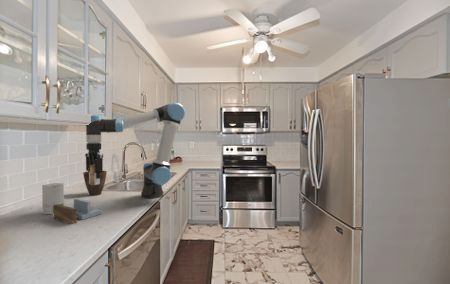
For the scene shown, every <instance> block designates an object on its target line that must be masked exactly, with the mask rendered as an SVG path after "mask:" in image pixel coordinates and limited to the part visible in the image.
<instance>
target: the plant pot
mask: <svg viewBox="0 0 450 284" xmlns="http://www.w3.org/2000/svg"><path fill="white" fill-rule="evenodd" d="M107 172H108V171H106V170H103V171H102V172H100V184H98V185H90V184H89V172H88V171H84V172H82V174H83V179H84V185H85V187H86V190H87V193H88V195H89V196H99V195H102V192H103V191H104V186H105V184H106V179H107Z"/></svg>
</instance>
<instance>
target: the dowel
mask: <svg viewBox="0 0 450 284" xmlns="http://www.w3.org/2000/svg"><path fill="white" fill-rule="evenodd" d="M94 172H95V166H94V165H90V185H94ZM97 185H98V184H97Z"/></svg>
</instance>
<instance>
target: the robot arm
mask: <svg viewBox="0 0 450 284" xmlns="http://www.w3.org/2000/svg"><path fill="white" fill-rule="evenodd" d="M91 115H92V116H91V123H90V124H89V125H86V124H85V128H86V130H85V131H86V132H85V134H86V137H85V138H86V151H87V150H88V152H87V153H85V155H84V156H85V169H86V170H85V172H89V184H90V165H94V166H95V172H94V185H97V184H100V172H102V171H104V170H103V168H104V167H103V166H104V165H103V160H104V159H103V158H104V154H103V153H101V151H100V150H102V133H116V134H117V133H123V132H124V130H126V129H129V128H130V129H131V128H134V127H138V126H142V125H145V124H151V123H155V122H156V123H162V122H163V126H162V127H163V128H162V132H161V137H160V140H159V144H158V145H159V146H158V148H157V153H156V158H155V160H154V161H152V162H148V163H147V162H146V163H144V164H143V167H142V169H143V186H142V190H141V192H140V197H141V198H144V199H157V198H162V197H163V196H164V195H165V194H164V193H165V192H164V190H163V185H165V184H167V183H168V182H169V181H170V180H171V177H172V172H171V170H170V169H171V165H172V164H171V163H170V159H171V155H172V150H173V147H174V141H175V138H176V133H177V129H178V127H179V126H181V122H182V120H183V119H184V118H185V116H186V109H185V107H184V106H183V105H182V104H181V103H179V102H170V103H168V104H164V105H162V106H160V107H156V108H153V110H149V111H146V112H140V113H136V114H131V115H128V116H122V117H118V118H114V119H103V118H102V116H101V115H97V114H91Z"/></svg>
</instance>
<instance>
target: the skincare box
mask: <svg viewBox="0 0 450 284" xmlns="http://www.w3.org/2000/svg"><path fill="white" fill-rule="evenodd" d="M64 188H65V184H64V183H63V182H53V183H47V184H42V186H41V190H42V191H41V192H42V194H41V196H42V214H43V215H54V205H56V204H59V205H63V206H65V193H64V192H65V191H64Z"/></svg>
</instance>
